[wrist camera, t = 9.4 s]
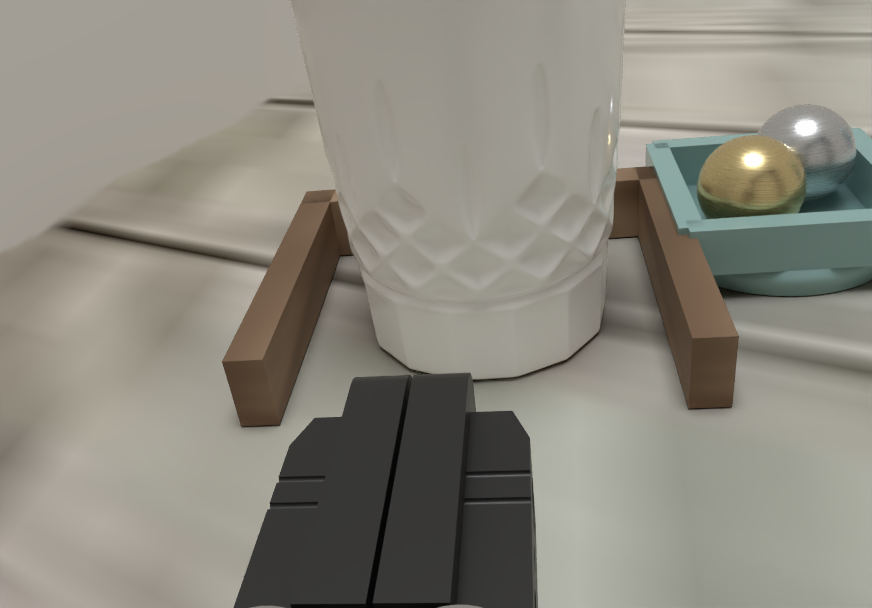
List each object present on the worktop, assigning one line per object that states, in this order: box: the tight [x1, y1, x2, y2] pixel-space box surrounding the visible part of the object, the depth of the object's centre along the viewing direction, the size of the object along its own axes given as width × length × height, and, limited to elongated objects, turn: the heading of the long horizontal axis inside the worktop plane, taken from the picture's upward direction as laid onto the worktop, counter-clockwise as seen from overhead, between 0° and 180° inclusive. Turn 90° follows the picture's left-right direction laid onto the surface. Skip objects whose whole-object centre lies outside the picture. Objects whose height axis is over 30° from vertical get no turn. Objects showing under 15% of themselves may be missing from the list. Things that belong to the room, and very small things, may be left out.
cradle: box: [222, 166, 739, 426], centre depth 24 cm, size 12×10×2 cm
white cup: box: [290, 0, 626, 380], centre depth 22 cm, size 8×8×10 cm
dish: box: [646, 127, 872, 296], centre depth 26 cm, size 7×7×2 cm
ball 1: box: [697, 135, 807, 219], centre depth 24 cm, size 3×3×3 cm
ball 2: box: [757, 104, 856, 203], centre depth 26 cm, size 3×3×3 cm
